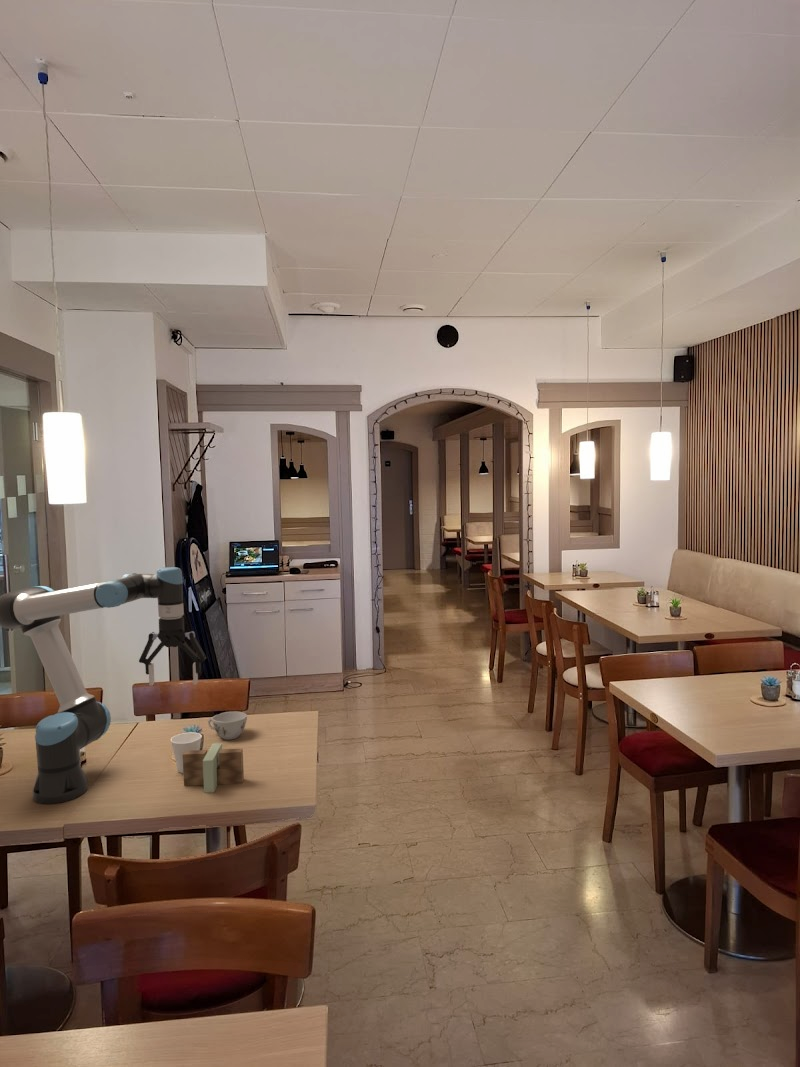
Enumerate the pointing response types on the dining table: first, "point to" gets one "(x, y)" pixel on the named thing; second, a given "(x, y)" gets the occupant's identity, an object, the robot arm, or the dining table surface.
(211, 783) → the green board
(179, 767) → the cup
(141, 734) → the dining table surface
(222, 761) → the walnut board
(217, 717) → the teacup
